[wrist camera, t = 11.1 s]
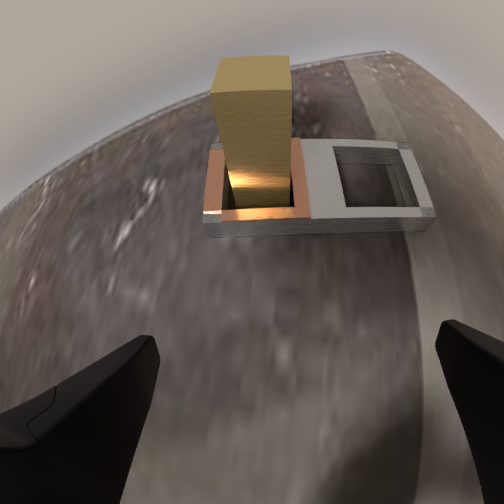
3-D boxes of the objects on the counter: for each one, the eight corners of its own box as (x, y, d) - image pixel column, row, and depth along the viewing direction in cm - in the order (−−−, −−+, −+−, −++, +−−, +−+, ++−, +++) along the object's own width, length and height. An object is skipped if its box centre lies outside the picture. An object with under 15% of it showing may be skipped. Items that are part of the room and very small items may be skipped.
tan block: (288, 175, 28) (288, 55, 16) (288, 214, 26) (291, 89, 14) (241, 175, 28) (220, 58, 16) (238, 214, 26) (210, 93, 14)
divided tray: (401, 158, 28) (408, 141, 25) (425, 230, 24) (437, 216, 21) (215, 160, 29) (211, 142, 27) (209, 238, 25) (202, 222, 23)
